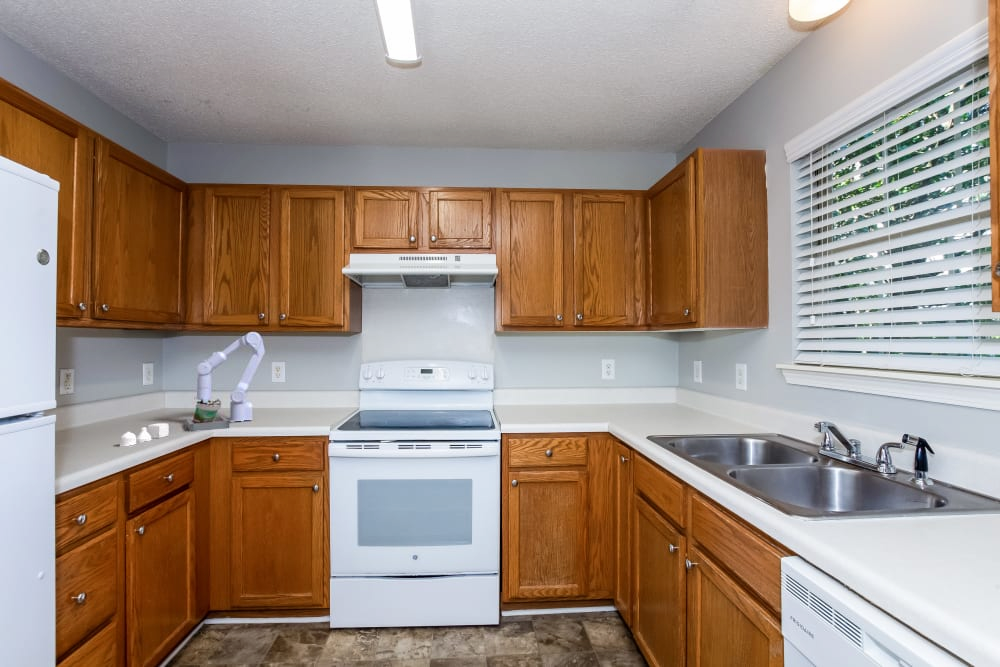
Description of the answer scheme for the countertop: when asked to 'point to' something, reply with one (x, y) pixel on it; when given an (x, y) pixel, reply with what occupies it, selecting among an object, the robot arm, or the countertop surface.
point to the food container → (206, 411)
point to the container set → (145, 434)
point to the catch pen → (208, 425)
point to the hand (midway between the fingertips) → (203, 416)
